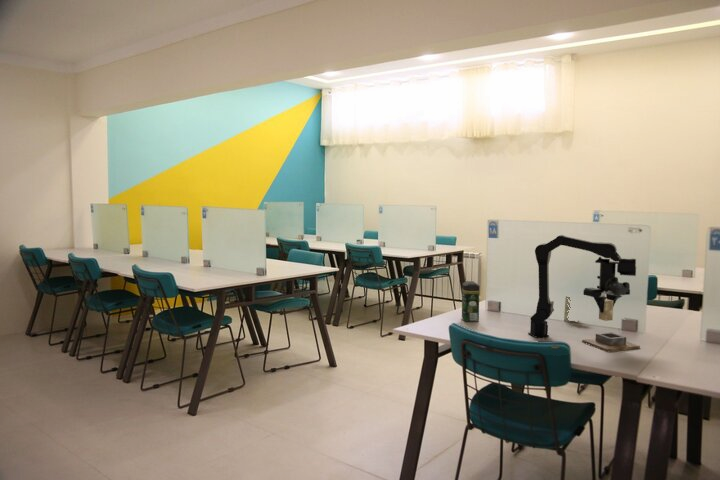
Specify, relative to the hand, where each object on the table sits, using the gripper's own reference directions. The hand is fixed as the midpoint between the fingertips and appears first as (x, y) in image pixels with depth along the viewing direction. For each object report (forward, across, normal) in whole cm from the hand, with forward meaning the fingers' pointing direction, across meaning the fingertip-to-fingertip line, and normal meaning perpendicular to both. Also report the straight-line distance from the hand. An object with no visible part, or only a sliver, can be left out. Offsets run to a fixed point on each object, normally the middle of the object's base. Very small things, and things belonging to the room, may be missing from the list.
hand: (605, 312), depth 219 cm
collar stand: (+13, +1, -2) cm, 13 cm away
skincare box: (+13, +14, +37) cm, 42 cm away
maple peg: (+3, 0, 0) cm, 3 cm away
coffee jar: (+13, -32, +53) cm, 63 cm away
